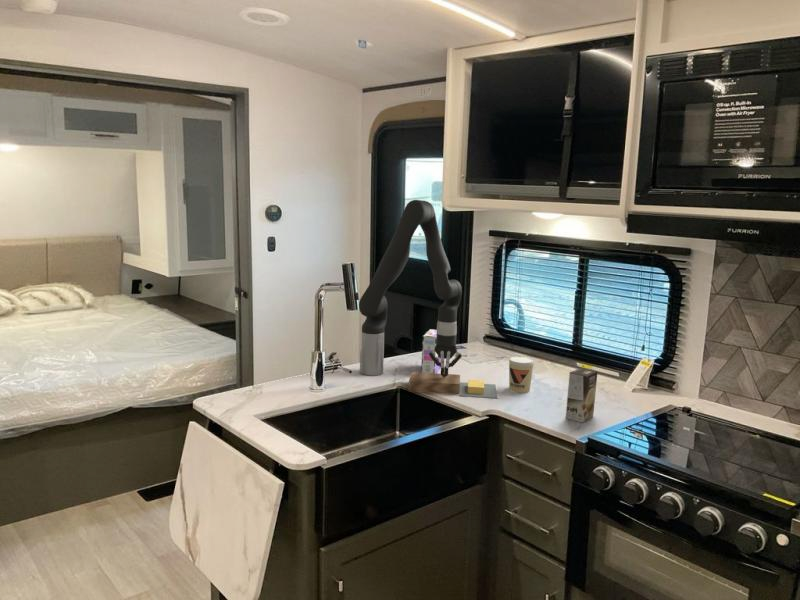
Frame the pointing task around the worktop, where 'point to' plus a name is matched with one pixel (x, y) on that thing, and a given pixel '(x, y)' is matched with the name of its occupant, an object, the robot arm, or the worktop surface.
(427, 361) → the candy box
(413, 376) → the brown flat block
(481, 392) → the yellow rectangular block
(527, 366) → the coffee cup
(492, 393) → the mat
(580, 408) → the coffee box
